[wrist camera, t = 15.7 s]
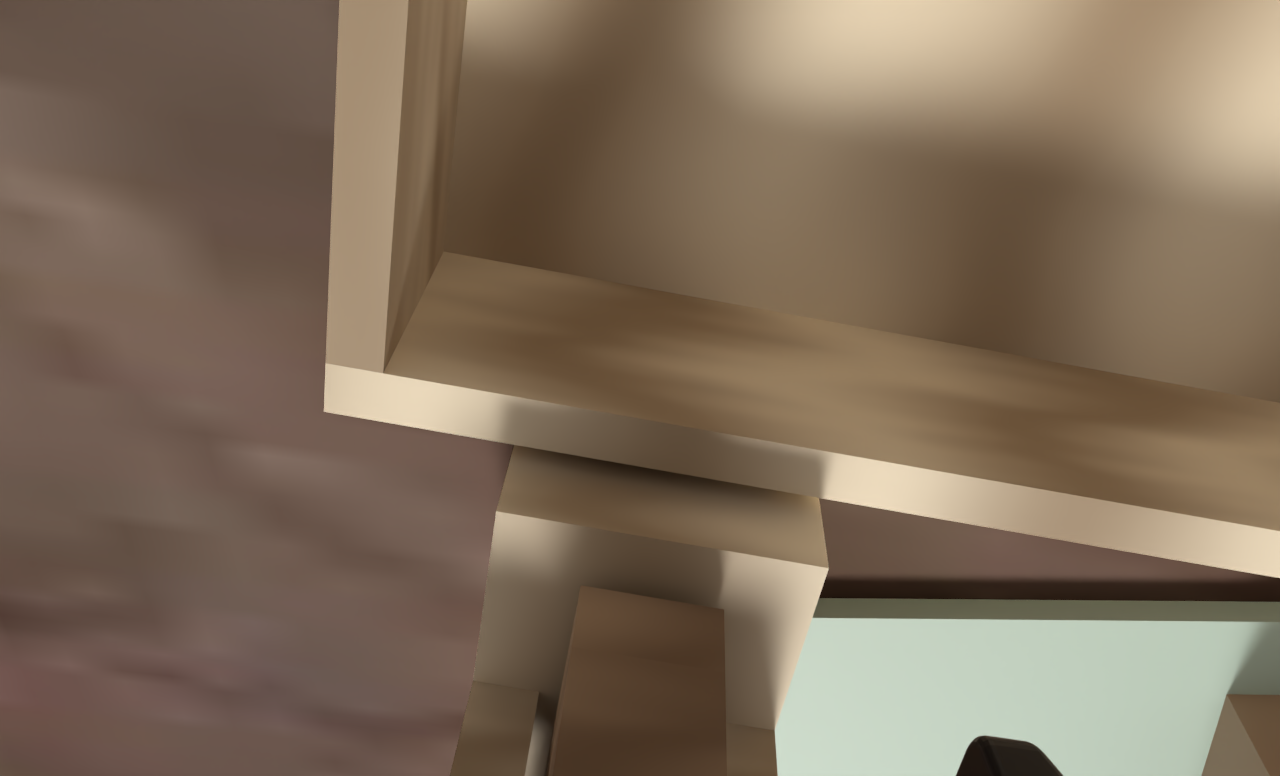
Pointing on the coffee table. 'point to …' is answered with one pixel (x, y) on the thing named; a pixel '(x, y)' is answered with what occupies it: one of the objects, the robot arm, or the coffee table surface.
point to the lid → (1035, 686)
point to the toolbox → (806, 294)
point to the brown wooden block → (641, 689)
